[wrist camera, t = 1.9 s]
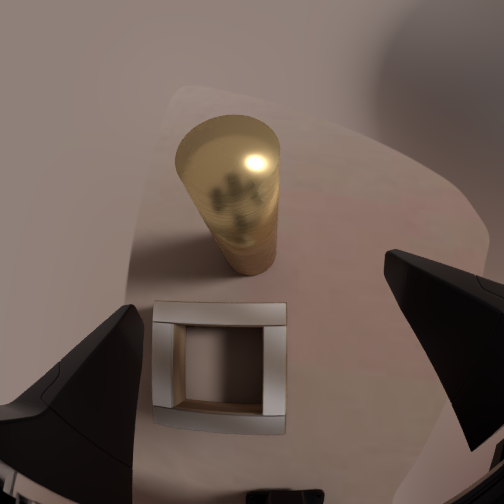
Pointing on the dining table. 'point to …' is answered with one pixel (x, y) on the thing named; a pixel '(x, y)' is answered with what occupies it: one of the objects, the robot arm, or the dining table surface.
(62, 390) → the robot arm
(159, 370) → the shallow grey tray
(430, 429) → the dining table surface
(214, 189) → the gold cylinder
